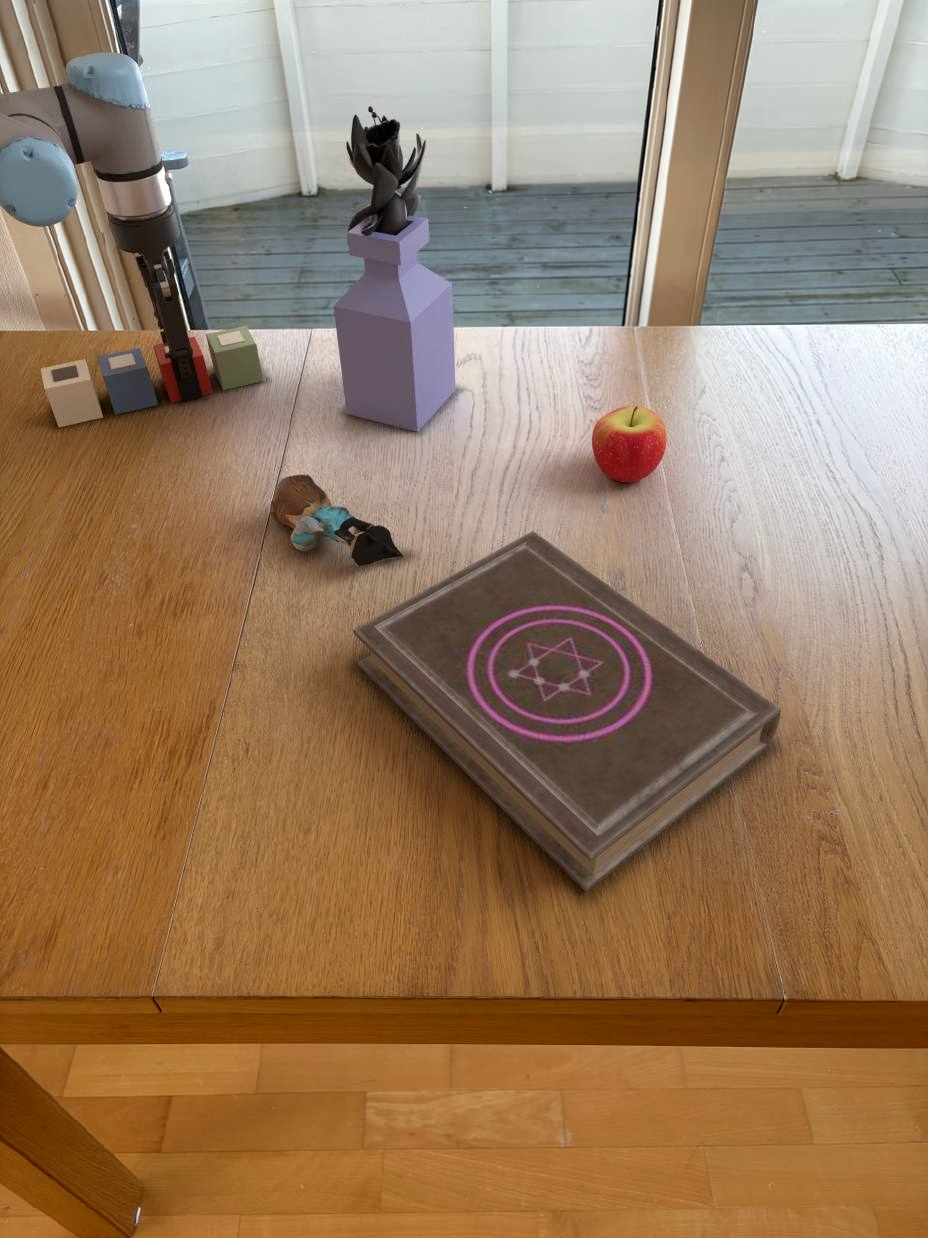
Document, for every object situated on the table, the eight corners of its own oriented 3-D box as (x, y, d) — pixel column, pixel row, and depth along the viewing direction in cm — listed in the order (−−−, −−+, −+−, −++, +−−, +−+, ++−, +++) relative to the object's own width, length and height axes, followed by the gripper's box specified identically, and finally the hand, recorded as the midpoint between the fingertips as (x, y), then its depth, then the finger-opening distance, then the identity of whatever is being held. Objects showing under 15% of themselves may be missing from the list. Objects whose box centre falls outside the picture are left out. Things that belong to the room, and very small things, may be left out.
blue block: (115, 414, 122) (102, 375, 118) (109, 394, 125) (96, 355, 121) (158, 405, 123) (147, 366, 119) (151, 384, 127) (140, 346, 123)
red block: (170, 402, 124) (160, 363, 120) (163, 382, 127) (152, 344, 123) (212, 392, 125) (203, 354, 121) (204, 373, 129) (194, 335, 125)
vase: (389, 361, 130) (365, 76, 105) (465, 379, 126) (458, 87, 101) (335, 414, 121) (294, 114, 96) (415, 434, 117) (394, 128, 92)
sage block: (222, 390, 125) (214, 351, 121) (214, 371, 129) (205, 333, 125) (263, 381, 127) (256, 342, 123) (253, 362, 130) (246, 324, 126)
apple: (594, 497, 107) (601, 421, 100) (584, 454, 113) (590, 379, 106) (667, 494, 107) (679, 418, 100) (653, 451, 113) (664, 376, 106)
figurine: (309, 499, 108) (301, 454, 104) (405, 557, 100) (401, 512, 96) (257, 530, 104) (247, 485, 100) (353, 594, 96) (347, 548, 92)
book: (358, 666, 89) (352, 629, 86) (535, 565, 99) (536, 527, 95) (586, 893, 72) (590, 857, 68) (772, 743, 82) (785, 705, 78)
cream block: (58, 427, 120) (44, 388, 116) (54, 406, 123) (39, 367, 120) (103, 417, 121) (90, 378, 117) (97, 396, 125) (84, 358, 121)
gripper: (188, 231, 104) (230, 413, 121) (159, 176, 117) (201, 348, 133) (119, 244, 103) (171, 427, 119) (96, 187, 115) (147, 360, 131)
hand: (187, 385), depth 126 cm, fingers closed on red block, 5 cm apart
